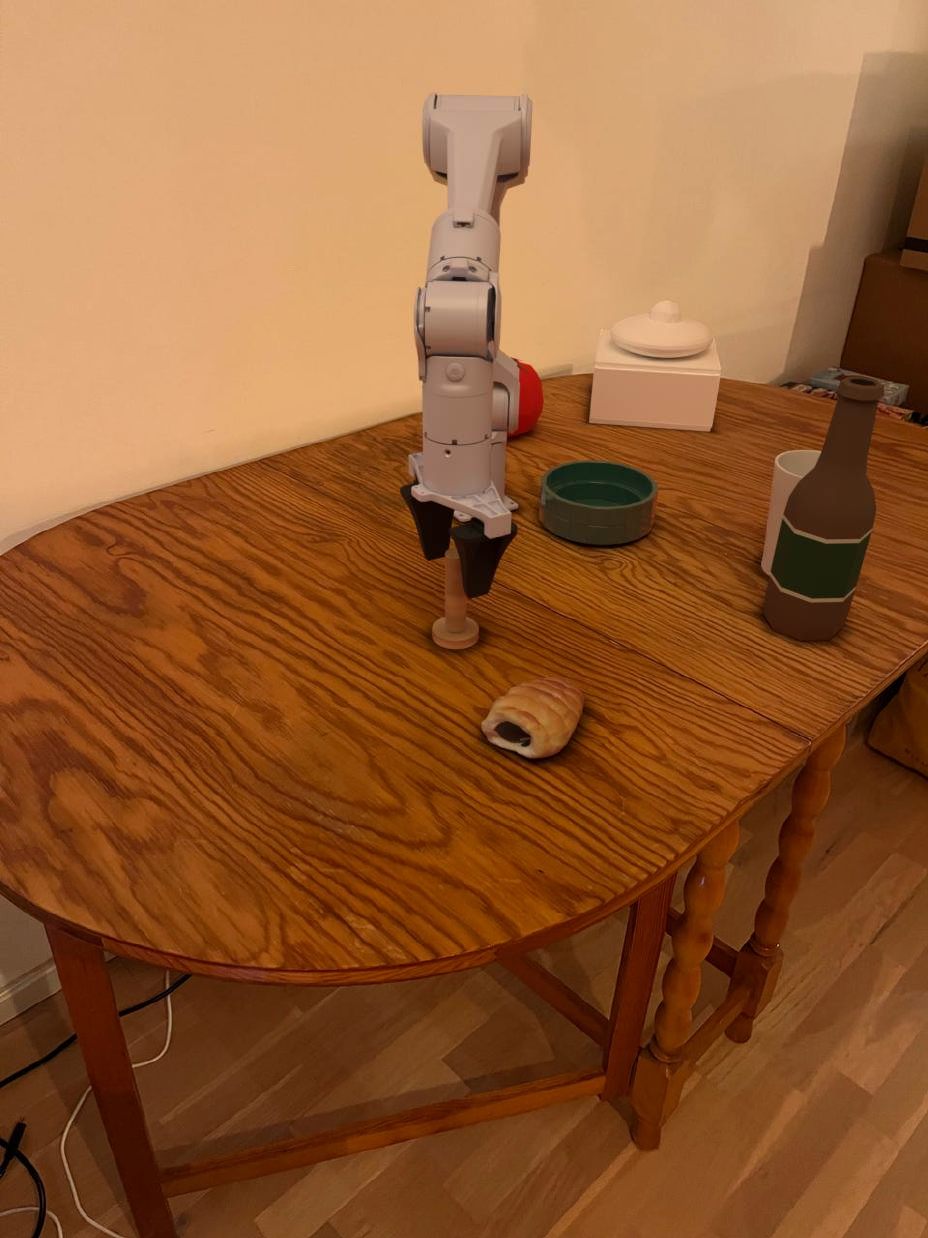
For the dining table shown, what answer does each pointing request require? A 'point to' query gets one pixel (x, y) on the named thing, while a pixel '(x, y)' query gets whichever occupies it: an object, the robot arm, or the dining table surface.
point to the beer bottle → (827, 524)
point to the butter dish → (656, 372)
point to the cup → (784, 494)
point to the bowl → (597, 502)
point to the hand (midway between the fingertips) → (455, 575)
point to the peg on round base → (454, 610)
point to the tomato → (528, 398)
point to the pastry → (535, 717)
